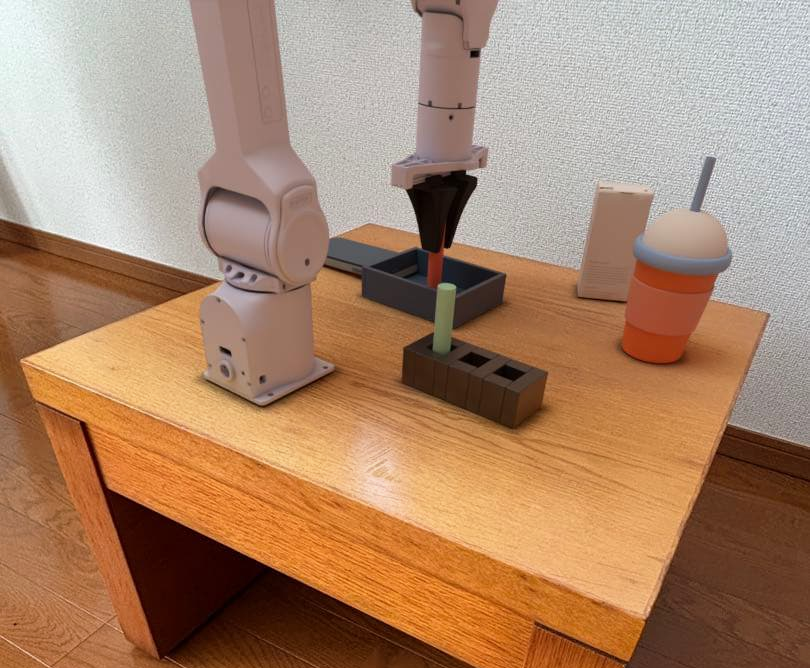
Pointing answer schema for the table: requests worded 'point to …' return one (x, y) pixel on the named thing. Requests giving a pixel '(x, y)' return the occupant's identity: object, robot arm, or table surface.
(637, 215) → the cosmetic box
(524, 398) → the straw rack
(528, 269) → the table surface
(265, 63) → the robot arm
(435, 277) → the red rod
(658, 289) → the cup with straw
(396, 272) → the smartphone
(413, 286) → the bin
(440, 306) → the green rod
